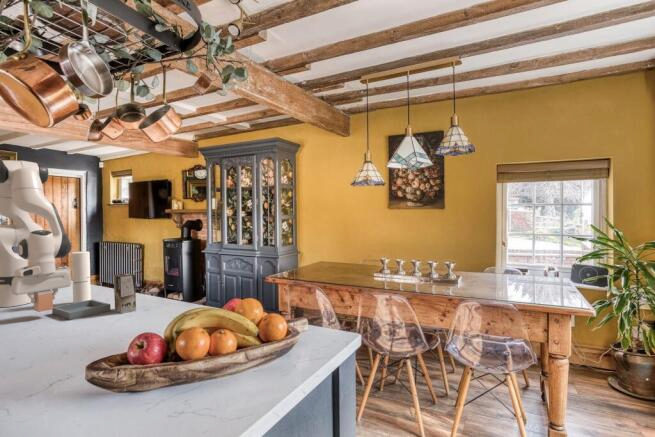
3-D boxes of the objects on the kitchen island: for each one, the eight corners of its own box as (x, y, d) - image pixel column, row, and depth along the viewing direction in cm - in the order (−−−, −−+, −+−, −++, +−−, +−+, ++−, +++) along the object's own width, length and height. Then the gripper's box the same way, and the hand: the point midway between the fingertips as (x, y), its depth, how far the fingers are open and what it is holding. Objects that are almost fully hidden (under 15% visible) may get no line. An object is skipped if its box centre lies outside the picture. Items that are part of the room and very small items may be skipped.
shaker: (33, 310, 151) (33, 291, 151) (48, 307, 155) (47, 289, 155) (38, 312, 148) (38, 293, 148) (53, 309, 153) (52, 290, 152)
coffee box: (136, 310, 161) (135, 274, 161) (121, 313, 156) (120, 277, 156) (129, 307, 167) (128, 272, 167) (114, 309, 163) (113, 274, 162)
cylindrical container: (94, 301, 179) (93, 251, 178) (83, 305, 172) (81, 253, 171) (81, 301, 180) (79, 251, 179) (69, 304, 172) (68, 253, 172)
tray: (52, 314, 157) (52, 307, 157) (92, 305, 170) (92, 299, 170) (69, 320, 148) (69, 313, 148) (110, 310, 161) (110, 304, 161)
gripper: (67, 264, 162) (68, 295, 162) (9, 271, 145) (10, 305, 145) (73, 266, 158) (74, 297, 159) (14, 273, 141) (15, 307, 142)
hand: (43, 301), depth 152 cm, fingers closed on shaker, 5 cm apart
